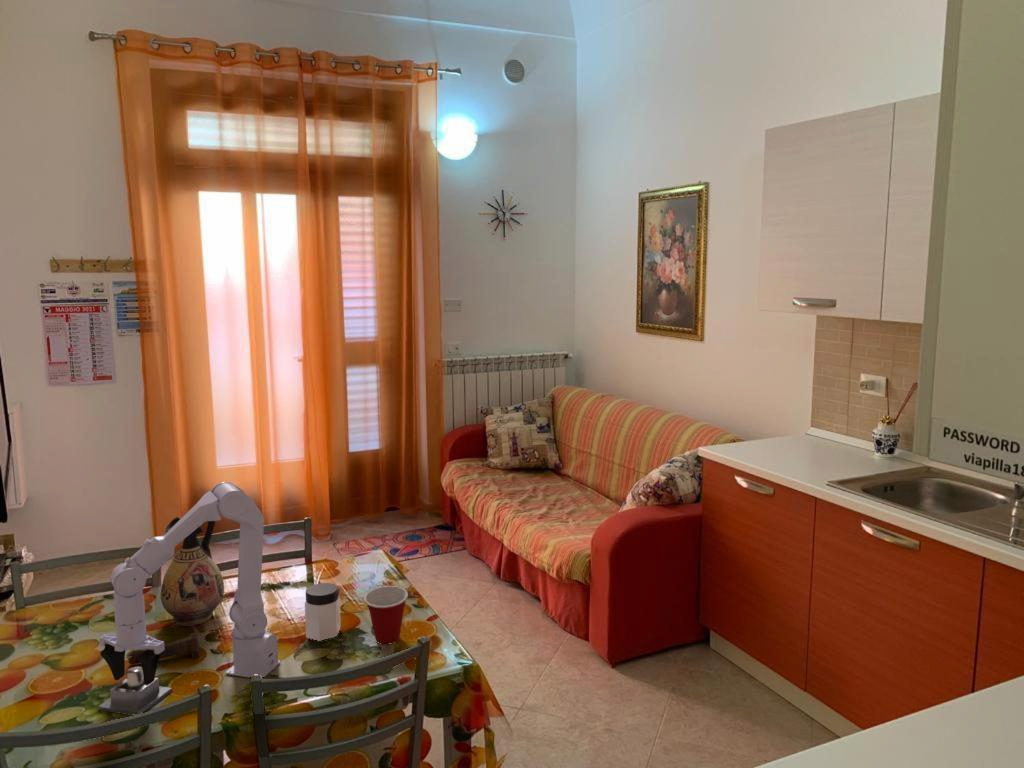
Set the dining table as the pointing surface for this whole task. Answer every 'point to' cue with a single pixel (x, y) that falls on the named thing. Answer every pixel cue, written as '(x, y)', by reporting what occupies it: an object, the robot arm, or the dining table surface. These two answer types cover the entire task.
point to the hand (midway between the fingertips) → (134, 680)
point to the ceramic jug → (192, 580)
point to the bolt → (172, 649)
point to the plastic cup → (386, 612)
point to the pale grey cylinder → (135, 678)
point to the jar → (322, 611)
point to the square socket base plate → (134, 698)
